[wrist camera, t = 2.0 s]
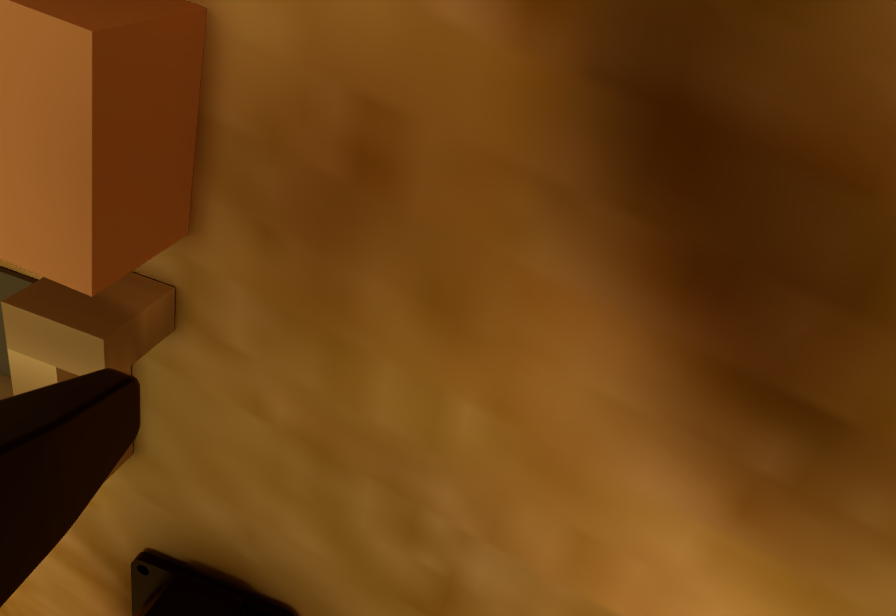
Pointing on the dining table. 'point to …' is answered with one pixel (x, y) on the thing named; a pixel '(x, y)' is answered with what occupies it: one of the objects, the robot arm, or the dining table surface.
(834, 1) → the dining table surface
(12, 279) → the mat
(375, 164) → the dining table surface
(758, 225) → the dining table surface
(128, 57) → the block
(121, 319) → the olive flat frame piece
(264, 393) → the dining table surface
